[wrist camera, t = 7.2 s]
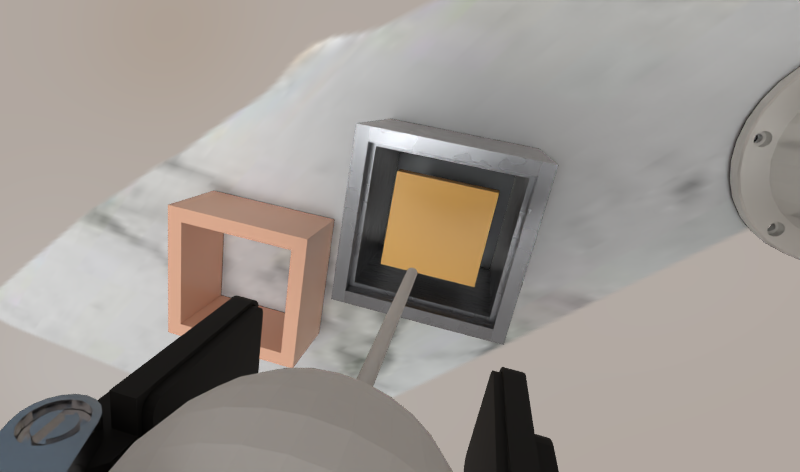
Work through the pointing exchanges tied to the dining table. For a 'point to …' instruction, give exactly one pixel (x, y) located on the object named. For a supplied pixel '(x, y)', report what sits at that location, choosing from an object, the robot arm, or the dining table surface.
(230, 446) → the lollipop
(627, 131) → the dining table surface
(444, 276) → the tan square block
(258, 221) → the tool holder
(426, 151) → the box
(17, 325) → the dining table surface
